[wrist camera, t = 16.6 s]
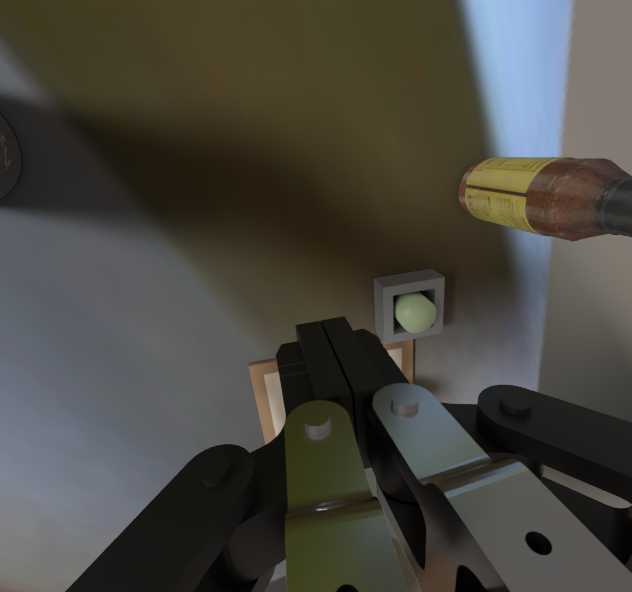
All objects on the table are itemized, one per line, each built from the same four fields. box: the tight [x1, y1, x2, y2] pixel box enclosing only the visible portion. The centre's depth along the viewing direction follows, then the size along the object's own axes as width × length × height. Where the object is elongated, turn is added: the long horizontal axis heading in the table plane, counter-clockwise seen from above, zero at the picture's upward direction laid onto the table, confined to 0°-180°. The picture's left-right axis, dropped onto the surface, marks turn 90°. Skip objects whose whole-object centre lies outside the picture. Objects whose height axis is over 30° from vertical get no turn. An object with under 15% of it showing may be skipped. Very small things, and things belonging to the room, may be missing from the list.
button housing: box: [374, 268, 445, 345], centre depth 41 cm, size 7×7×3 cm
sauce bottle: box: [458, 157, 632, 241], centre depth 30 cm, size 7×6×20 cm
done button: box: [393, 291, 436, 333], centre depth 40 cm, size 4×4×4 cm
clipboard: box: [249, 338, 413, 444], centre depth 46 cm, size 20×15×1 cm
